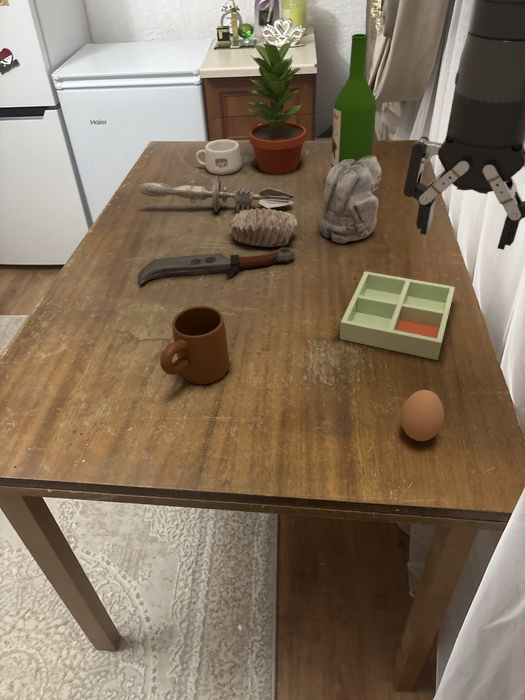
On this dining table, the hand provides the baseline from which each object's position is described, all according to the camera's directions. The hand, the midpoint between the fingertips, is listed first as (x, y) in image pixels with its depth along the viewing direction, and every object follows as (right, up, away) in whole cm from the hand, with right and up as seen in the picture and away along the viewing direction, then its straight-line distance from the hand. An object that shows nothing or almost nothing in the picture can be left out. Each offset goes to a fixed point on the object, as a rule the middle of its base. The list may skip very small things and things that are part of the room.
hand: (462, 238), depth 61 cm
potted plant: (-19, +36, +80) cm, 89 cm away
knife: (-32, +2, +42) cm, 53 cm away
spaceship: (-33, +19, +62) cm, 72 cm away
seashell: (-23, +10, +51) cm, 56 cm away
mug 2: (-34, +35, +80) cm, 93 cm away
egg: (-2, -24, +10) cm, 26 cm away
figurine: (-5, +12, +51) cm, 53 cm away
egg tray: (0, -8, +28) cm, 29 cm away
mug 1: (-33, -17, +20) cm, 42 cm away
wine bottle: (-2, +25, +66) cm, 70 cm away
